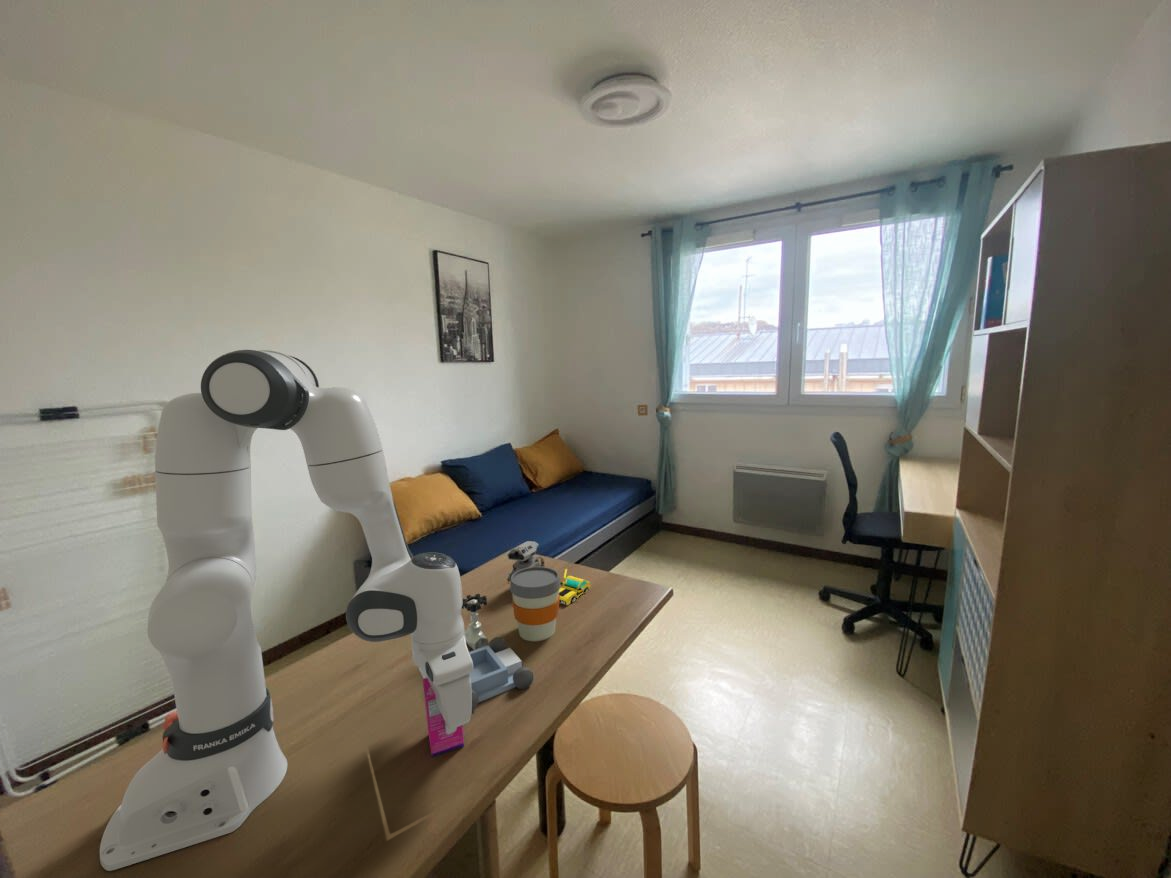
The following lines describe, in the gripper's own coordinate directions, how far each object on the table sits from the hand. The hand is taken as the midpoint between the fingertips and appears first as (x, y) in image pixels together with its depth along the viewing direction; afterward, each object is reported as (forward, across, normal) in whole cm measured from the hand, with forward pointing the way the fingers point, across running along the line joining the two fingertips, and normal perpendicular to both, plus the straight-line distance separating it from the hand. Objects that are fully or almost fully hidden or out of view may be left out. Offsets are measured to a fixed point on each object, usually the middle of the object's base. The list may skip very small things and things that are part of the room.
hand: (443, 717), depth 83 cm
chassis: (+5, -12, +12) cm, 18 cm away
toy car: (+5, -33, +46) cm, 57 cm away
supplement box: (+5, 0, 0) cm, 5 cm away
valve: (+5, -25, +15) cm, 30 cm away
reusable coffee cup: (+5, -22, +30) cm, 38 cm away
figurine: (+5, -44, +37) cm, 58 cm away
